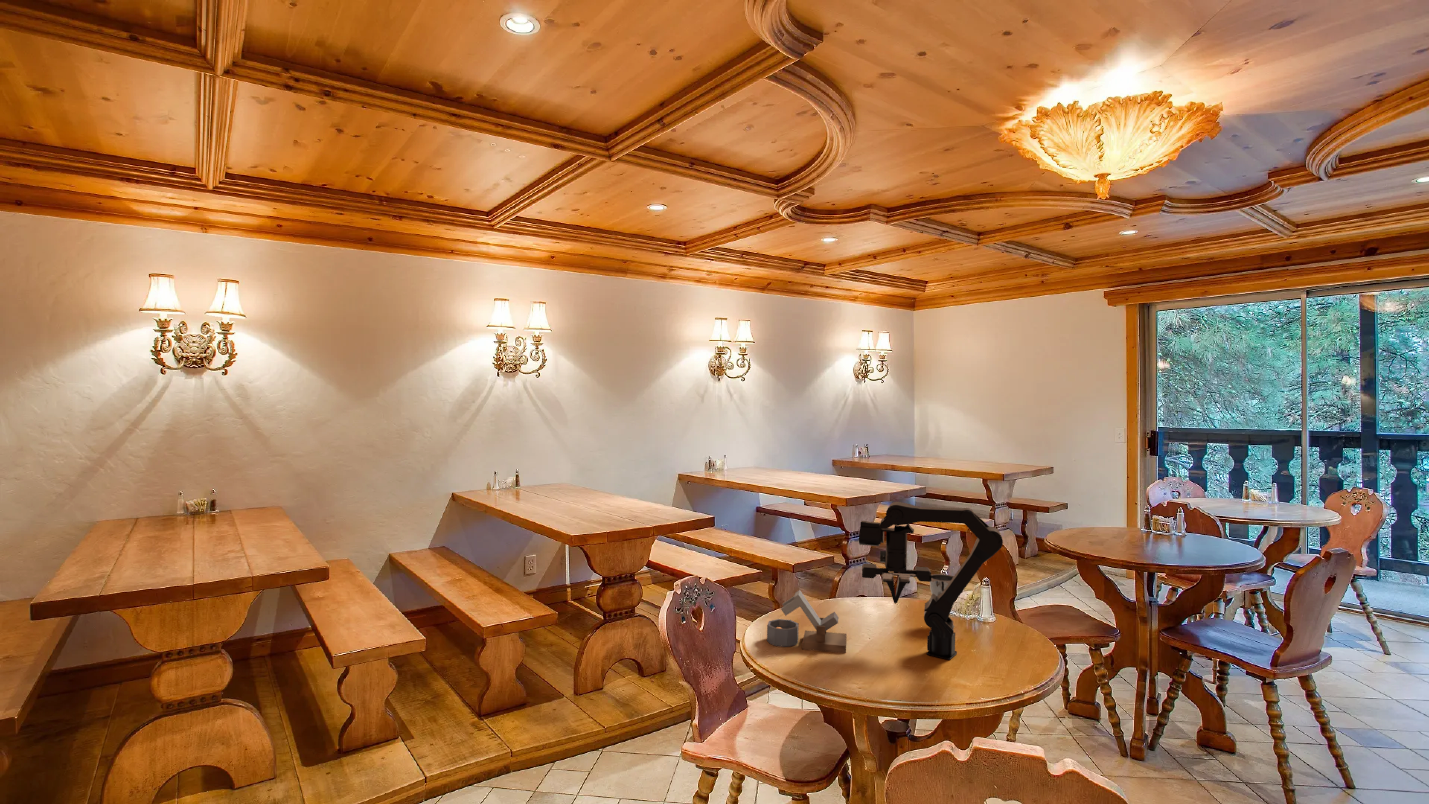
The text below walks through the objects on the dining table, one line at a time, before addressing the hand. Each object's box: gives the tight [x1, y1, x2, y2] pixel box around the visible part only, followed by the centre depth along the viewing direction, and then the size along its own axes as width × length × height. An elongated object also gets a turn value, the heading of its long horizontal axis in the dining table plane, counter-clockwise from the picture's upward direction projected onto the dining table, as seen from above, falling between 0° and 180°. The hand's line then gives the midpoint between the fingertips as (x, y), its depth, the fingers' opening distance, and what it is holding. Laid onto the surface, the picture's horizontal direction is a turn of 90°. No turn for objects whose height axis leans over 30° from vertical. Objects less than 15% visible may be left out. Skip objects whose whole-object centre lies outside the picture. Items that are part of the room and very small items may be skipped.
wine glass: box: [929, 573, 955, 628], centre depth 221 cm, size 8×8×15 cm
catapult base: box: [801, 617, 848, 654], centre depth 203 cm, size 12×10×6 cm
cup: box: [766, 618, 800, 648], centre depth 206 cm, size 9×9×5 cm
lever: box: [780, 589, 840, 632], centre depth 204 cm, size 11×6×13 cm
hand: (895, 602), depth 201 cm, fingers closed
